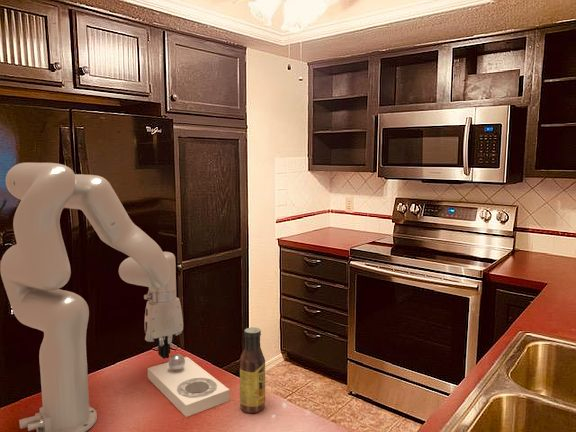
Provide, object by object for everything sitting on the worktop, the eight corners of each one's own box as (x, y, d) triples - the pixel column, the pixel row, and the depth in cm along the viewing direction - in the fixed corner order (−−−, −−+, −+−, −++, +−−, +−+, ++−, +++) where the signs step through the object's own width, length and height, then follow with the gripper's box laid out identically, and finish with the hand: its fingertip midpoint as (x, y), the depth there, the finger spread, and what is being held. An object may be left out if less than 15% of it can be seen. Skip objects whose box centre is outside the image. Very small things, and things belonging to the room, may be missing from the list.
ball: (172, 375, 122) (172, 359, 122) (165, 369, 126) (165, 353, 125) (187, 370, 125) (187, 355, 125) (180, 364, 129) (180, 349, 128)
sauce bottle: (264, 414, 110) (264, 336, 107) (238, 414, 110) (237, 335, 107) (266, 400, 116) (266, 325, 113) (241, 399, 116) (241, 325, 114)
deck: (186, 417, 108) (186, 405, 108) (147, 378, 127) (147, 368, 126) (229, 400, 116) (229, 389, 115) (187, 366, 134) (187, 356, 134)
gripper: (141, 304, 122) (144, 368, 124) (192, 293, 131) (193, 354, 134) (131, 297, 128) (134, 359, 130) (181, 287, 137) (182, 346, 139)
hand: (164, 356), depth 132 cm, fingers closed
